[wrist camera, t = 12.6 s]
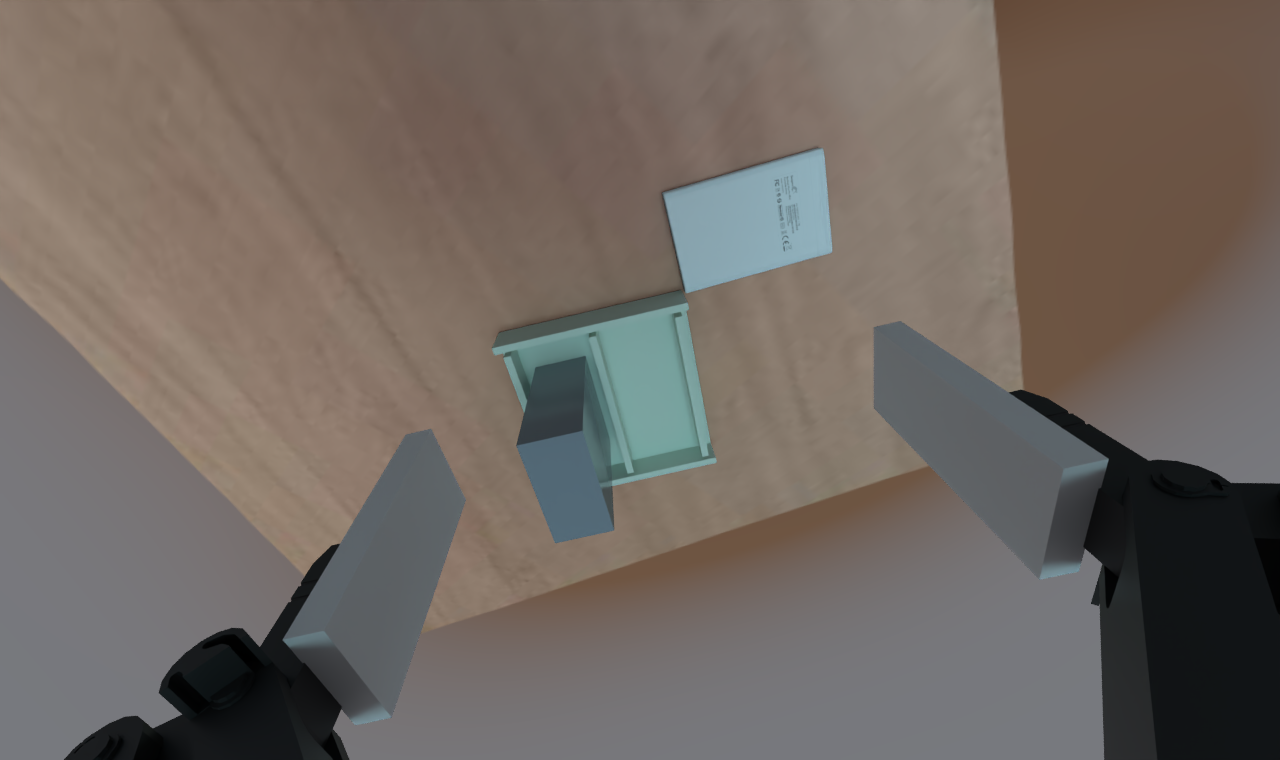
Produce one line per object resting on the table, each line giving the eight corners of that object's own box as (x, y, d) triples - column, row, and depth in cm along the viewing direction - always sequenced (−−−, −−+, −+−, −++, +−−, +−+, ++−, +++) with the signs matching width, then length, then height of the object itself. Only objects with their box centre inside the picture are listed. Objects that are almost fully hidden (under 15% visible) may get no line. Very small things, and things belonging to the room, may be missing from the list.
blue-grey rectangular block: (535, 367, 44) (516, 445, 34) (585, 355, 44) (582, 430, 34) (564, 450, 48) (555, 543, 38) (610, 439, 48) (614, 530, 38)
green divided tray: (498, 332, 44) (491, 348, 41) (681, 289, 43) (687, 302, 40) (553, 477, 51) (550, 499, 48) (709, 442, 51) (716, 462, 48)
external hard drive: (660, 191, 40) (816, 146, 39) (683, 289, 44) (825, 249, 43) (663, 194, 39) (824, 147, 38) (686, 294, 42) (833, 254, 42)
